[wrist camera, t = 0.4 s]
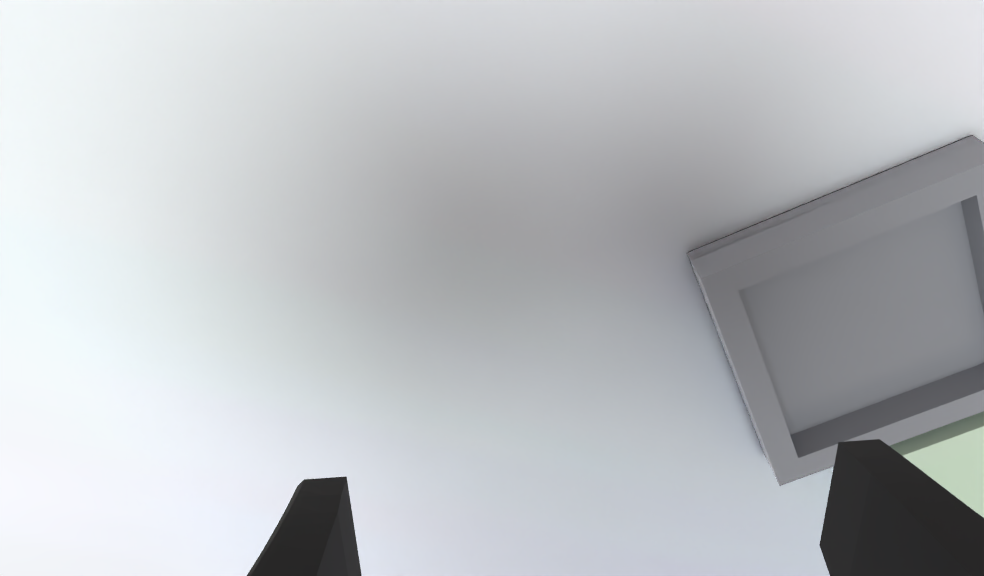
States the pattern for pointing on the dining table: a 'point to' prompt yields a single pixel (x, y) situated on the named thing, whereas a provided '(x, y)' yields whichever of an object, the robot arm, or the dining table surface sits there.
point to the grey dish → (857, 310)
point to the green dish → (952, 458)
